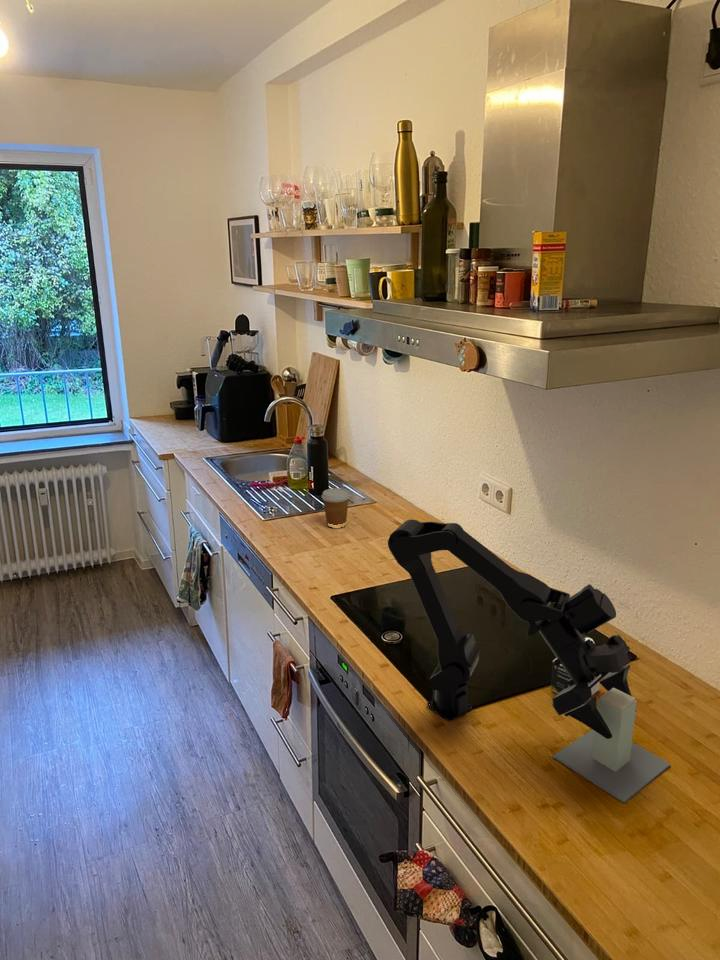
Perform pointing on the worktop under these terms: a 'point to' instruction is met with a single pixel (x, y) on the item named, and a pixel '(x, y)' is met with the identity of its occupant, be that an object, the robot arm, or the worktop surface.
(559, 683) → the medicine bottle
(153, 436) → the worktop surface
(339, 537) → the worktop surface
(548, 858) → the worktop surface
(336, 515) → the disposable coffee cup
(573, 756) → the plate
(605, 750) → the tea tin
